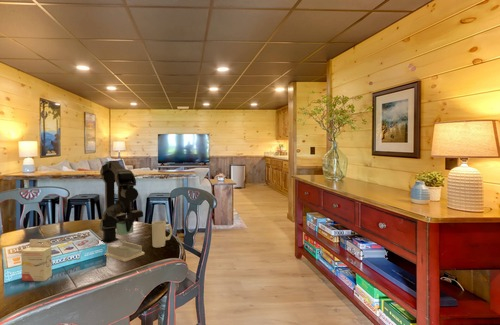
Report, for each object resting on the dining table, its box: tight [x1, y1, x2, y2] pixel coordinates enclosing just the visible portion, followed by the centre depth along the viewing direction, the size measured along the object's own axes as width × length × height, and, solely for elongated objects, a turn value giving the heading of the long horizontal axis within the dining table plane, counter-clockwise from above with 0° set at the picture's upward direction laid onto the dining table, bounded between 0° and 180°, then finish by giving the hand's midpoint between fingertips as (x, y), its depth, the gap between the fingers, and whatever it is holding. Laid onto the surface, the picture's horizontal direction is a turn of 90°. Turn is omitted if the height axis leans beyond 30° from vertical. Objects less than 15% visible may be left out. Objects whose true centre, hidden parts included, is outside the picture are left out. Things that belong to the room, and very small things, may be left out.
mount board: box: [104, 240, 145, 263], centre depth 143 cm, size 14×11×4 cm
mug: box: [151, 220, 173, 249], centre depth 157 cm, size 10×7×12 cm, turn 103°
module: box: [116, 221, 134, 236], centre depth 142 cm, size 6×4×6 cm, turn 150°
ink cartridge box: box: [20, 238, 53, 282], centre depth 116 cm, size 9×5×15 cm, turn 92°
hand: (125, 231), depth 142 cm, fingers closed on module, 4 cm apart
